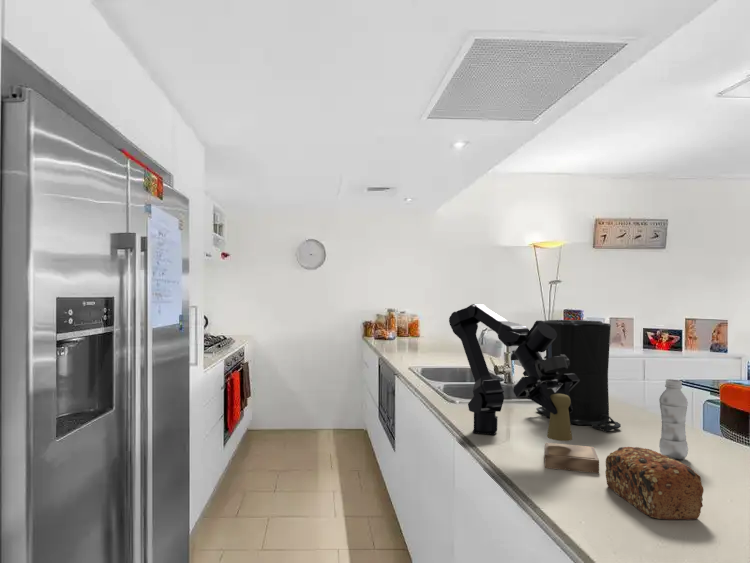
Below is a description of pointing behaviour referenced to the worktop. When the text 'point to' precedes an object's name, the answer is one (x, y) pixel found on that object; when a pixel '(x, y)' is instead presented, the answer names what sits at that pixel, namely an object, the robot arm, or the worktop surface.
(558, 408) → the cork
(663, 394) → the plastic bottle
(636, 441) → the worktop surface
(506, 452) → the worktop surface
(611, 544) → the worktop surface
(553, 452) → the plate
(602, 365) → the coffee maker
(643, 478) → the bread
